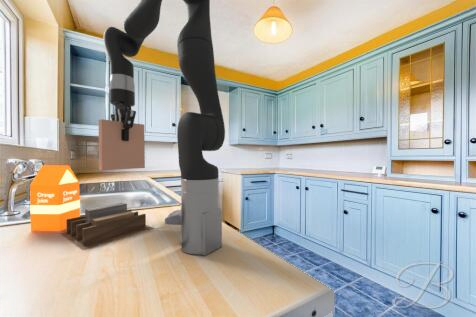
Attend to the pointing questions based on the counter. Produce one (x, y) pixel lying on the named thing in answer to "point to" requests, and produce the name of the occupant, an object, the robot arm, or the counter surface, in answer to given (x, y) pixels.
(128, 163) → the tall sheet
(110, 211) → the bar
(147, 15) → the robot arm
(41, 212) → the orange juice
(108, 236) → the rack
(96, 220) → the offcut front
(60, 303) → the counter surface
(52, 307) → the counter surface
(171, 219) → the stone block
